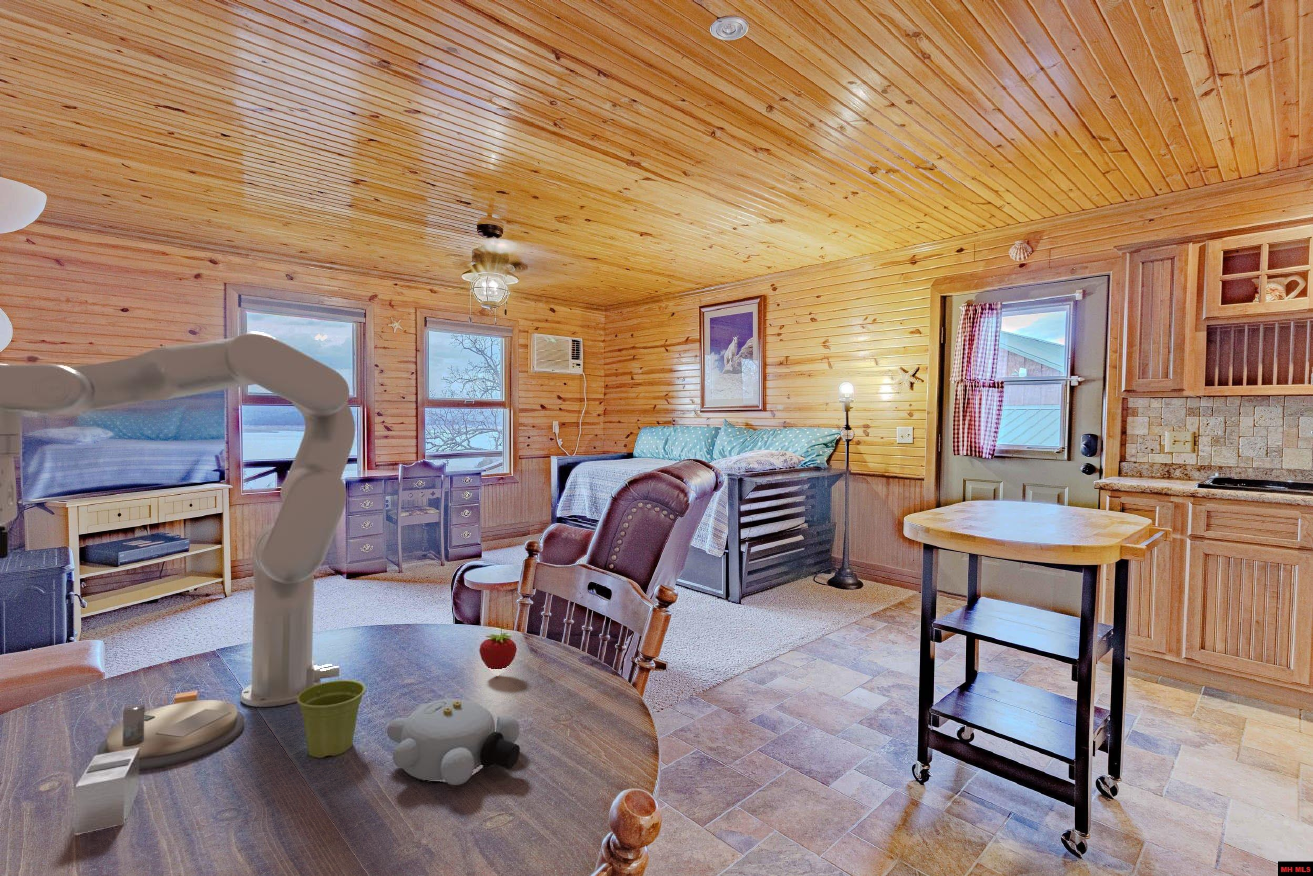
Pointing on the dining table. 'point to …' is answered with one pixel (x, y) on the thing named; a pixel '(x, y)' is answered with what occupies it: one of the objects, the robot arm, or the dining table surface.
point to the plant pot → (330, 716)
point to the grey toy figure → (453, 740)
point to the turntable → (171, 727)
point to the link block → (107, 790)
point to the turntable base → (189, 753)
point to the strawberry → (498, 651)
